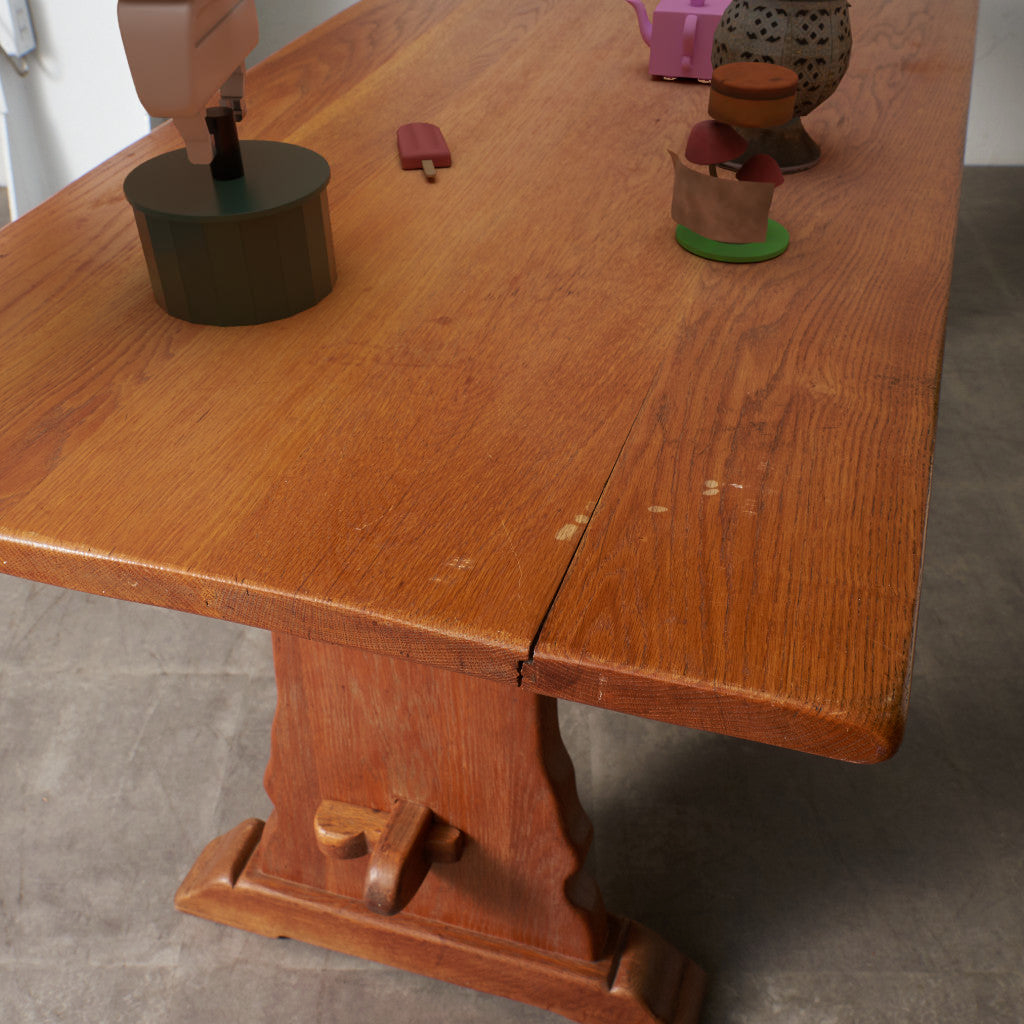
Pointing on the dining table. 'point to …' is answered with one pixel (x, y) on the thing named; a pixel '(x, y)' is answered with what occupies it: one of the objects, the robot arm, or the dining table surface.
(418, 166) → the popsicle
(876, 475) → the dining table surface
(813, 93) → the lantern
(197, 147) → the robot arm
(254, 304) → the bin
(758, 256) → the mushroom toy stack
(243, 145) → the lid
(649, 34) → the teapot
